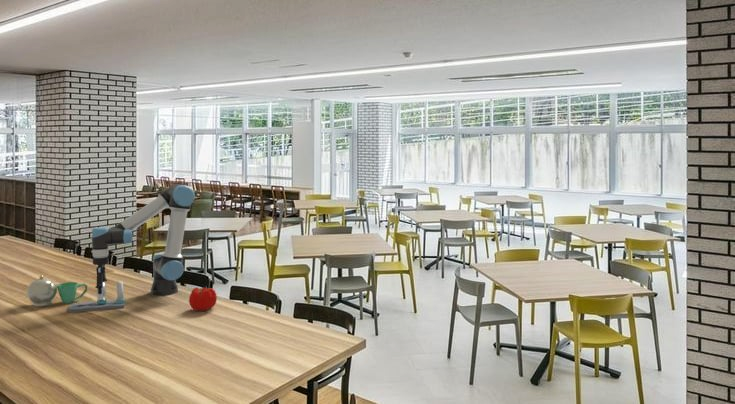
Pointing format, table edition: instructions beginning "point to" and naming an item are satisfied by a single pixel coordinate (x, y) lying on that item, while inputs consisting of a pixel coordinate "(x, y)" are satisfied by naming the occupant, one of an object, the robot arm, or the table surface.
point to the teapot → (42, 292)
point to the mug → (70, 291)
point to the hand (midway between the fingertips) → (101, 296)
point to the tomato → (202, 299)
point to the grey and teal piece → (94, 306)
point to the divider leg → (103, 297)
